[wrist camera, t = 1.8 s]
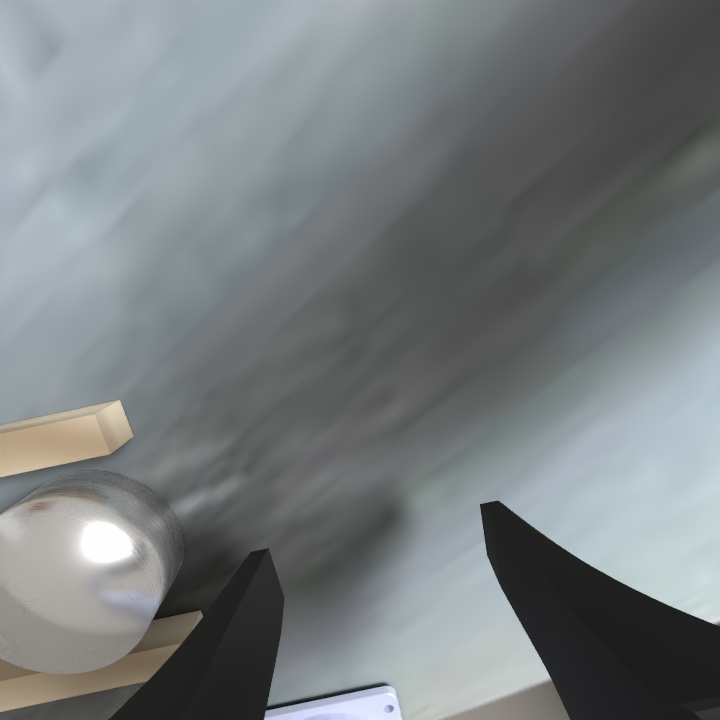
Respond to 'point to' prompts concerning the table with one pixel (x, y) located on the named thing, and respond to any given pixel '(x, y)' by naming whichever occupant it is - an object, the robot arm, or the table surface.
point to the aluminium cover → (84, 571)
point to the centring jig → (55, 447)
